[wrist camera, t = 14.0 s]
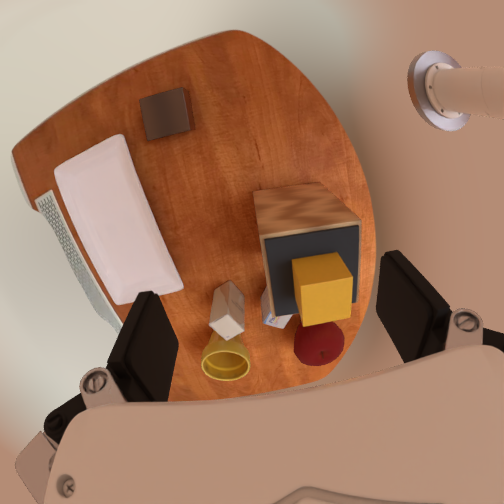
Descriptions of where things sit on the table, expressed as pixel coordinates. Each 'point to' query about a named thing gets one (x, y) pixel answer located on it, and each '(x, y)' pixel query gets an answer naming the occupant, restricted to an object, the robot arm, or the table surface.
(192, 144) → the table surface
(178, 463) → the robot arm
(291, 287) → the mat
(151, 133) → the base block
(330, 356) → the apple
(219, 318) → the box
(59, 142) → the table surface
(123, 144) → the tray
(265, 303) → the medicine box
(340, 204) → the block
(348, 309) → the top block
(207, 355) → the flower pot
